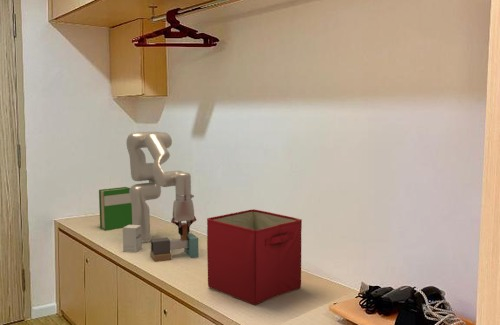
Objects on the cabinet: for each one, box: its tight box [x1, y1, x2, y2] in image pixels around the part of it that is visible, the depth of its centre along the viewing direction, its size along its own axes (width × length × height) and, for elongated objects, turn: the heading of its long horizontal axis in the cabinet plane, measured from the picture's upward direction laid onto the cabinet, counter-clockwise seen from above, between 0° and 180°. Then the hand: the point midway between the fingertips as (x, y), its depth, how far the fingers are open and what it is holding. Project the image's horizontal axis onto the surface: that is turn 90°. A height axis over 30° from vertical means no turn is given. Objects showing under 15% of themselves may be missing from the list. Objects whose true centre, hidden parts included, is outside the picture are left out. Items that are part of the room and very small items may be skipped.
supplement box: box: [122, 225, 143, 253], centre depth 265 cm, size 7×7×13 cm
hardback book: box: [98, 186, 132, 232], centre depth 316 cm, size 18×7×24 cm, turn 130°
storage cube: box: [206, 208, 303, 306], centre depth 207 cm, size 32×28×29 cm
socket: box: [183, 232, 199, 259], centre depth 257 cm, size 12×4×10 cm, turn 23°
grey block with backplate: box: [149, 236, 172, 263], centre depth 251 cm, size 10×8×9 cm
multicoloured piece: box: [169, 222, 189, 251], centre depth 254 cm, size 4×14×12 cm, turn 113°
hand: (184, 234), depth 255 cm, fingers closed on multicoloured piece, 2 cm apart
